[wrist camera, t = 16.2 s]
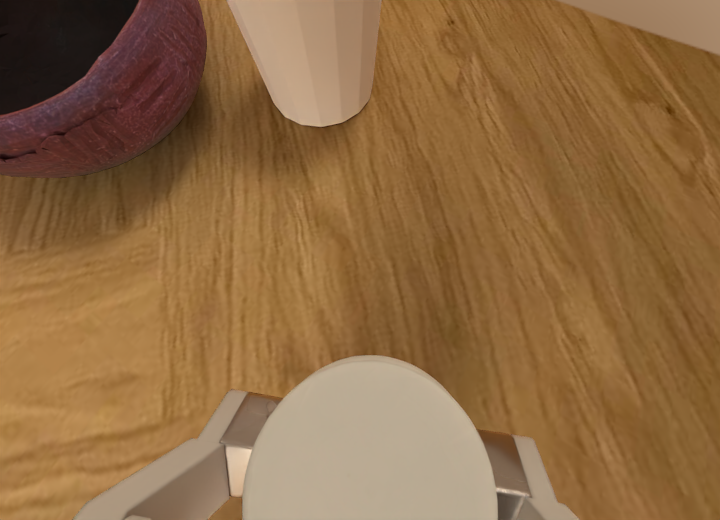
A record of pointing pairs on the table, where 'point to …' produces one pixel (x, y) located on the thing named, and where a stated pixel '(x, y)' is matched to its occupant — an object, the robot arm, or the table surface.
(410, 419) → the pill bottle
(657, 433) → the table surface
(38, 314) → the table surface
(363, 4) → the shot glass
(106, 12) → the bowl
